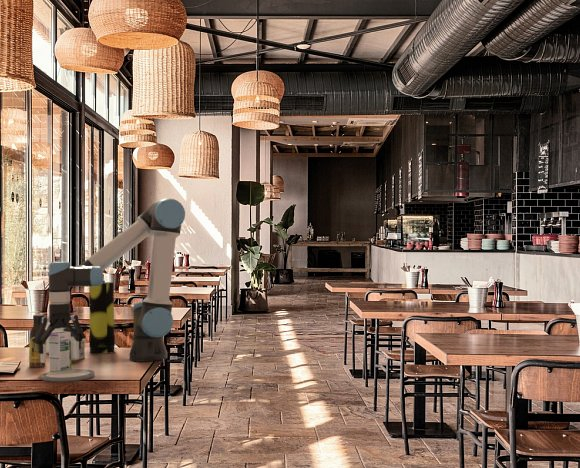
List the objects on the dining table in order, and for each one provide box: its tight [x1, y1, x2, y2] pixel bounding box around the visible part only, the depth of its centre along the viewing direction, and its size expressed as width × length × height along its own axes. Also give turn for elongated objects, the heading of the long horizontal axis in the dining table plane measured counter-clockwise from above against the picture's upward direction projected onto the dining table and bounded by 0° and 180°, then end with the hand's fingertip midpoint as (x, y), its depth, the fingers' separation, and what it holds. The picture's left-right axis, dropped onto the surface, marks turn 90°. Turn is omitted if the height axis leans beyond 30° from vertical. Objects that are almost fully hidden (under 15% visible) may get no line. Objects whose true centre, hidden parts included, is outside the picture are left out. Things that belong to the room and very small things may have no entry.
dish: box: [41, 369, 95, 383], centre depth 270 cm, size 18×18×1 cm
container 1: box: [63, 326, 86, 361], centre depth 313 cm, size 8×8×13 cm
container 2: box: [88, 281, 116, 355], centre depth 331 cm, size 11×11×30 cm
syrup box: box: [48, 331, 73, 372], centre depth 284 cm, size 6×6×14 cm
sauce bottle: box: [28, 314, 46, 368], centre depth 295 cm, size 6×6×20 cm
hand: (60, 360), depth 284 cm, fingers open, 13 cm apart
